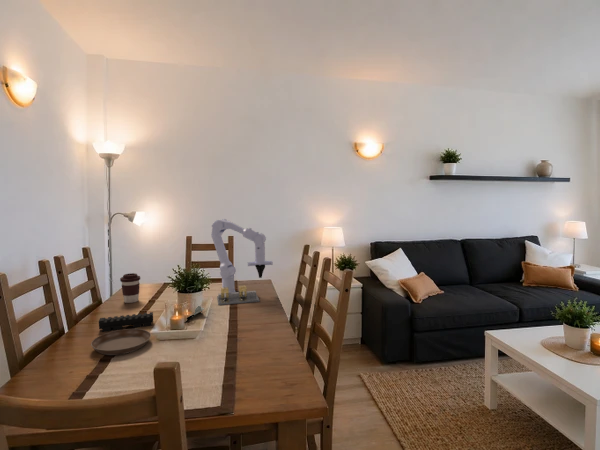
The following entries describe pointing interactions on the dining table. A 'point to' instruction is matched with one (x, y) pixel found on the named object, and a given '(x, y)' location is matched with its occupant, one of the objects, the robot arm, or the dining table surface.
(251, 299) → the bolt plate
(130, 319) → the rail mount
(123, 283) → the coffee cup
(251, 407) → the dining table surface
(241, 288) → the sliding leg
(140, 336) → the plant saucer
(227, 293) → the beam with fixed leg
